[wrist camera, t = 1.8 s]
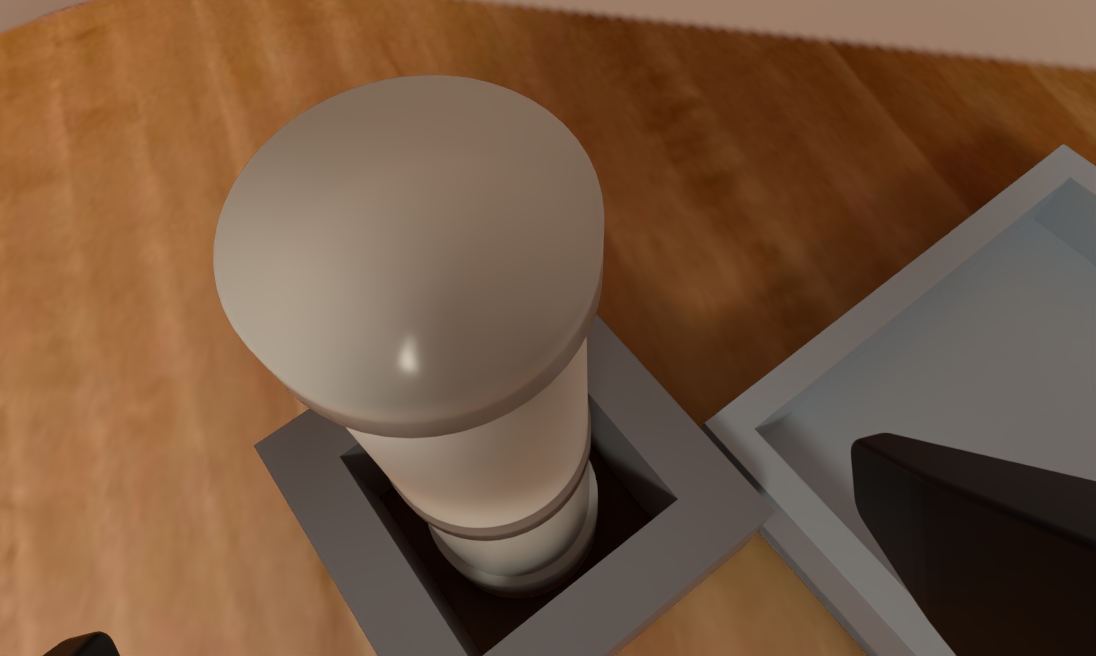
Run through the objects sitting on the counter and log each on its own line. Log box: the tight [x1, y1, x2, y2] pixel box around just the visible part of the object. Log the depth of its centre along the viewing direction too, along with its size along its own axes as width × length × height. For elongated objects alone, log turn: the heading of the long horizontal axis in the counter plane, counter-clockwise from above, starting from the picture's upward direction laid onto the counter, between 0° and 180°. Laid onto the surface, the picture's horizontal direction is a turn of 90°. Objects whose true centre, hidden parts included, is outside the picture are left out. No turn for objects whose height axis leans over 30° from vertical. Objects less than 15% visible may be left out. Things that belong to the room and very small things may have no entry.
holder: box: [254, 314, 775, 656], centre depth 18 cm, size 8×8×4 cm
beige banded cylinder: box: [213, 75, 604, 599], centre depth 14 cm, size 4×4×13 cm
